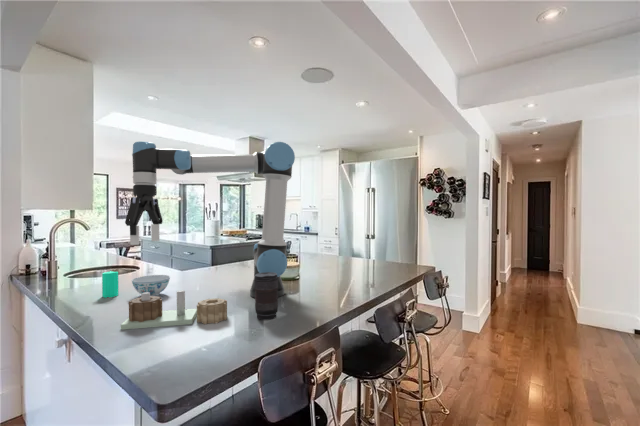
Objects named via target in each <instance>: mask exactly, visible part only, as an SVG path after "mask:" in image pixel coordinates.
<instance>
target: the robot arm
mask: <svg viewBox="0 0 640 426" xmlns="http://www.w3.org/2000/svg"><path fill="white" fill-rule="evenodd" d="M131 156H132V183H133V186H132V194H133V197H130V204H129V206H128V207H129V208H128V211H127V215H126V218H125V221H124V223H125V225H126V227H129V236H130V237H129V239H130V240H129V245H131V246H133V245H134V246H135V245H136V246H138V245H140V225H138V224H139V223H140V220H141V217H142V215H144V212H146V213H147V214H148V217H149V219H150V221H151V224H150V226H151V228H150V230H151V232H150V233H151V242H160V225H162V224H163V216H162V212H161V210H160V206H159V199H158V198H154V196H155V197H156V196H157V186H156V185H157V170H171V171H172V172H173V173H175V174H176V175H180V176H181V175H183V176H184V175H186V174H207V173H208V174H209V173H210V174H212V173H215V174H216V173H217V174H218V173H255V174H256V175H262V177H263V178H264V179H265V189H264V190H265V192H264V203H263V204H264V205H263V219H262V233H261V234H262V235H261V239H260V240H259V241H258V242H257V243H255V244H254V245H253V249H252V251H253V280H252V283H251V286H250V288H249V289H250V290H249V293H250V295H249V296H250V297H251V298H253V299H255V284H254V278H255V275H256V274H258V273H264V272H274V273H277V276H278V289H277V293H278V298H280V297H282V296H284V295H285V287H284V283H283V280H282V277H281V276H282V275H283V274H284V273H285V272H286V270H287V267H288V258H287V256H286V255H287V245H288V244H287V243H286V242H285V240H284V235H285V233H284V232H285V219H286V218H285V217H286V207H287V206H286V205H287V204H286V203H287V191H288V182H289V181H290V180H291V179H292V174H293V173H292V172H293V165H294V163H295V161H296V160H295V159H296V155H295V152H294V149H293V148H292V147H291V145H290V144H288V143H286V142H283V141H275V142H272V143H271V144H269V145H268V146H266V149H265V150H264V151H255V152H254V153H252V154H251V153H250V154H249V153H248V154H192V155H191V152H190V150H188V149H181V148H178V149H177V148H176V149H175V148H157V146H156V143H154V142H151V141H135V142H133V144H132V153H131ZM134 196H135V197H134Z"/></svg>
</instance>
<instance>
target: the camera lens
mask: <svg viewBox="0 0 640 426" xmlns="http://www.w3.org/2000/svg"><path fill="white" fill-rule="evenodd" d="M253 280H254V284H255V298H254V308H255V314H256V318H257V319H259V320H264V321H265V320H267V321H268V320H274V319H275V318H276V317H277V313H278V308H279V300H278V298H279V297H278V293H277V289H278V276H277V273H274V272H264V273H258V274H256V275H255V278H254V277H253Z"/></svg>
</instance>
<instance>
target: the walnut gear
mask: <svg viewBox="0 0 640 426" xmlns="http://www.w3.org/2000/svg"><path fill="white" fill-rule="evenodd" d="M162 311H163V298H162V297H161V296H150V300H147V301H141V296H140V297H136V298H134V299H132V300H130V301H128V318H129V319H130V321H131V322H133V321H139V322H144V321H147V320H155V319H156V318H157V317H161V316H162Z"/></svg>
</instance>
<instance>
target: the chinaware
mask: <svg viewBox="0 0 640 426" xmlns="http://www.w3.org/2000/svg"><path fill="white" fill-rule="evenodd" d="M170 280H171V276H170V275H167V274H153V275H143V276H137V277H134V278H132V279H131V284H132V286H133V288H134V290H135V291H136V292H137V293H139V294H140V295H141V294H142V293H146V292H150V296H158V297H160V295H161V293H162V292H163V291H164V290H165V289H166V288H167V286H168V285H169V282H170Z"/></svg>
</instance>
